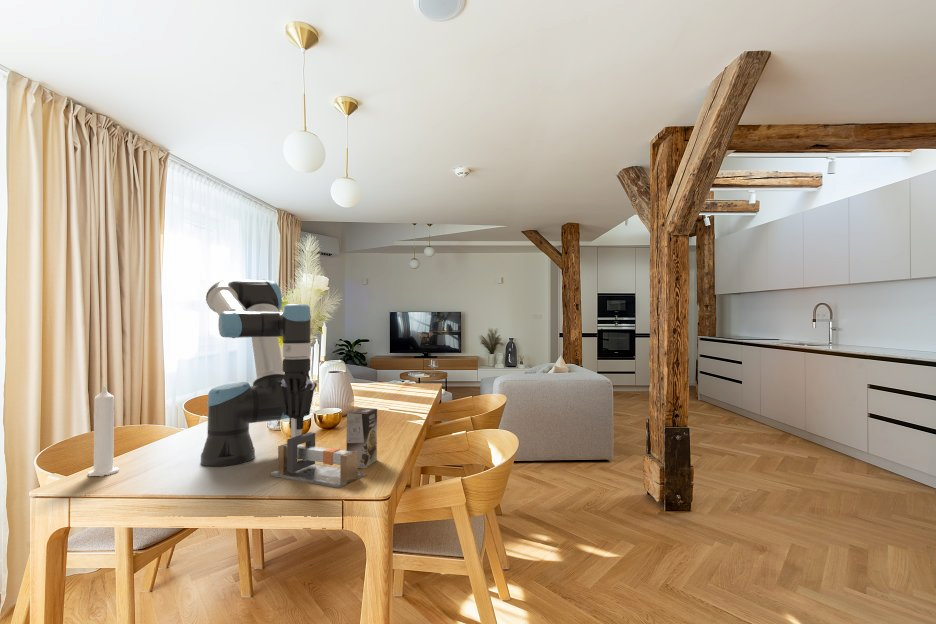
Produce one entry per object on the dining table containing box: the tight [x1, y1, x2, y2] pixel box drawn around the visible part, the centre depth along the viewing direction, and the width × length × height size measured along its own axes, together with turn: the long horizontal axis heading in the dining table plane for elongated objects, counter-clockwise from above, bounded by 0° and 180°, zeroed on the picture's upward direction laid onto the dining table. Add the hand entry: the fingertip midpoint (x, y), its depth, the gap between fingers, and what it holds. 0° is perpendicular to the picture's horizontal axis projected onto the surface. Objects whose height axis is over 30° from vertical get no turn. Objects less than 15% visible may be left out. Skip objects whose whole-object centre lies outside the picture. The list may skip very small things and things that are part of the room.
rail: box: [269, 443, 365, 489], centre depth 137 cm, size 24×11×8 cm, turn 66°
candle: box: [87, 384, 120, 477], centre depth 139 cm, size 7×7×25 cm
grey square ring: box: [286, 432, 316, 473], centre depth 139 cm, size 2×9×9 cm, turn 156°
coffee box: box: [345, 407, 378, 469], centre depth 148 cm, size 9×6×16 cm
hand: (296, 440), depth 140 cm, fingers closed
